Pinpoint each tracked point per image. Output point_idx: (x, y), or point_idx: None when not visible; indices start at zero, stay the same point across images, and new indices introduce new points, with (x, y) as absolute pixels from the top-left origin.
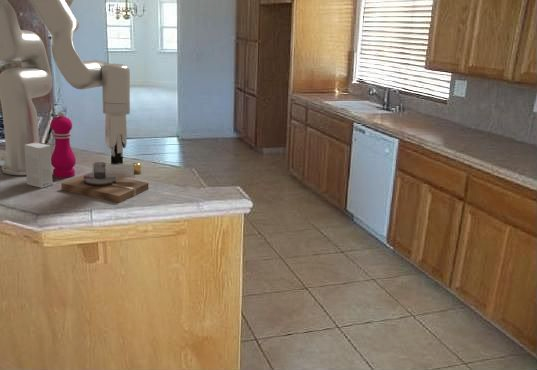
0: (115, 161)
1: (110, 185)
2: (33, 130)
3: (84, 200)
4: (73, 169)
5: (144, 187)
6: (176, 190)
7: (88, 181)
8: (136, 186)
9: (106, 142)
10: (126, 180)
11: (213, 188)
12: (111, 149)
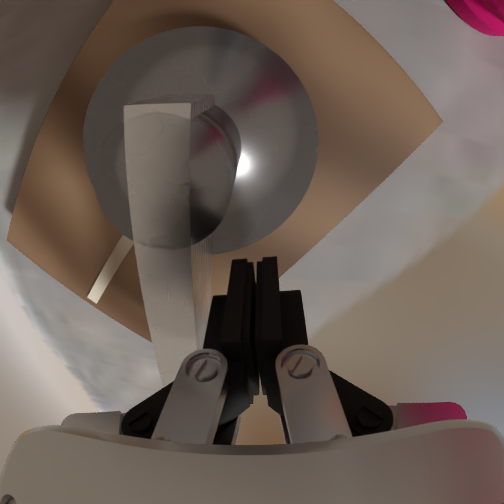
0: (207, 331)
1: None
2: None
3: (31, 78)
4: (493, 24)
5: None
6: None
7: (109, 72)
8: (125, 316)
9: (281, 484)
10: (219, 288)
11: None
12: (302, 401)
